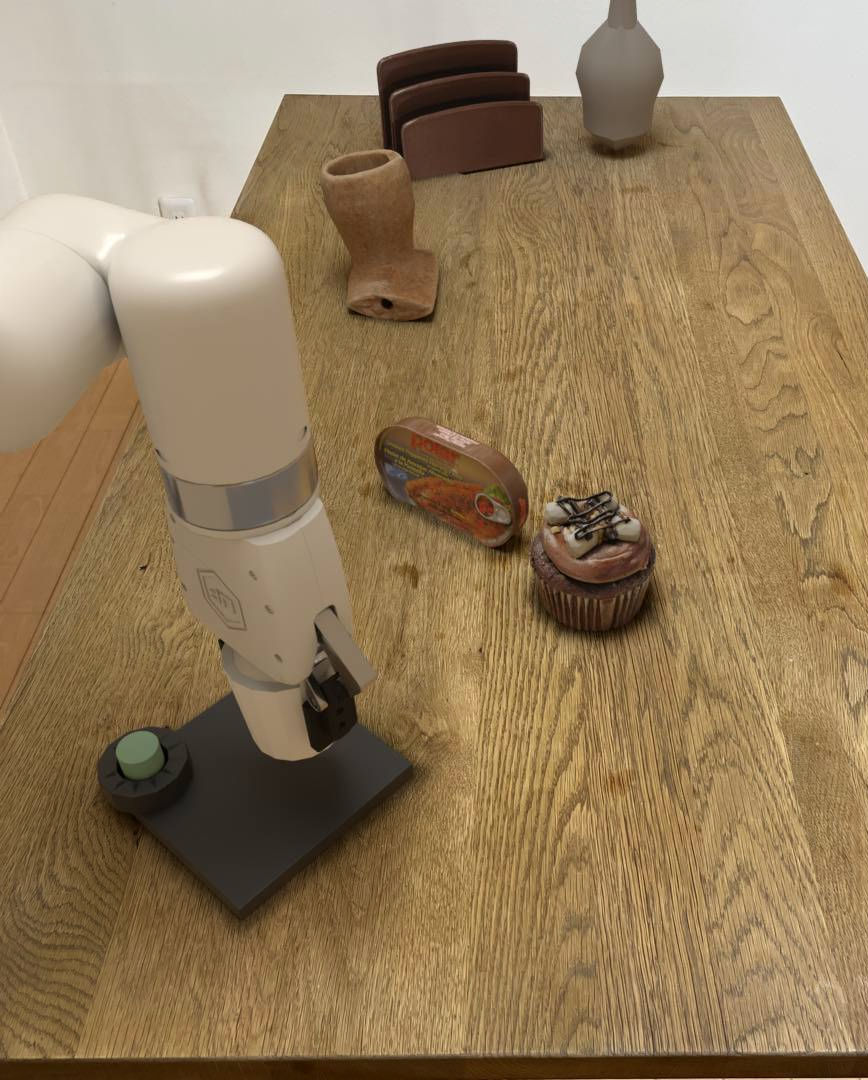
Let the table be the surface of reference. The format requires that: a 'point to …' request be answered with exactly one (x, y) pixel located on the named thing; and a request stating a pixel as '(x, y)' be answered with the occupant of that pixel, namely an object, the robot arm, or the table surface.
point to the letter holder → (458, 108)
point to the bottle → (619, 78)
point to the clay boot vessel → (380, 235)
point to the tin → (452, 478)
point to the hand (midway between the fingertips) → (292, 701)
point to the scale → (251, 800)
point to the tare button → (140, 755)
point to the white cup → (272, 706)
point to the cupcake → (592, 562)
